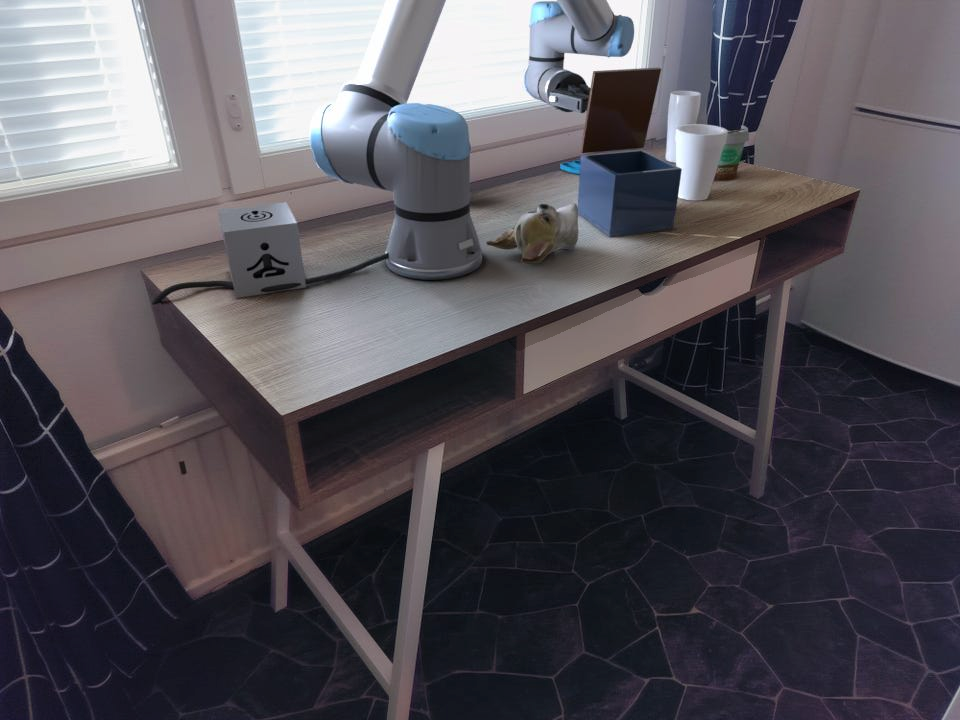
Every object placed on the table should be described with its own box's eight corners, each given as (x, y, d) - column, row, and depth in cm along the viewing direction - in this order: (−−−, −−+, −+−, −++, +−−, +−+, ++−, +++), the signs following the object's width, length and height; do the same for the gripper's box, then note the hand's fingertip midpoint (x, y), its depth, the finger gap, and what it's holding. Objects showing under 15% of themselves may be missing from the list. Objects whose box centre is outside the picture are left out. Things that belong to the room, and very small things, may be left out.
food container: (706, 184, 150) (714, 136, 145) (689, 176, 155) (696, 129, 150) (754, 178, 154) (763, 130, 149) (735, 171, 159) (744, 124, 154)
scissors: (580, 159, 163) (643, 181, 149) (580, 163, 164) (642, 185, 149) (557, 163, 160) (619, 186, 146) (557, 167, 161) (618, 191, 146)
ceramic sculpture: (598, 202, 112) (522, 226, 105) (597, 253, 117) (524, 279, 110) (555, 186, 120) (482, 207, 113) (555, 234, 124) (485, 258, 117)
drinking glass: (689, 157, 169) (698, 90, 161) (693, 165, 163) (704, 96, 155) (660, 156, 169) (668, 90, 162) (663, 164, 163) (672, 95, 156)
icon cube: (229, 272, 111) (217, 210, 106) (294, 263, 114) (286, 202, 109) (236, 298, 103) (223, 232, 98) (306, 287, 106) (297, 222, 101)
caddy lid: (661, 68, 123) (659, 67, 123) (595, 72, 119) (593, 70, 120) (644, 147, 132) (642, 146, 133) (581, 153, 129) (580, 151, 129)
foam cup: (721, 203, 139) (733, 135, 133) (673, 203, 139) (683, 135, 133) (709, 188, 147) (719, 124, 141) (664, 188, 148) (672, 123, 141)
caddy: (673, 229, 127) (682, 168, 121) (609, 237, 124) (615, 175, 118) (636, 205, 138) (642, 149, 133) (576, 212, 135) (580, 155, 129)
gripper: (590, 107, 150) (646, 131, 131) (533, 111, 147) (582, 136, 127) (593, 69, 146) (651, 88, 127) (534, 72, 143) (585, 92, 123)
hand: (616, 112), depth 127 cm, fingers closed
